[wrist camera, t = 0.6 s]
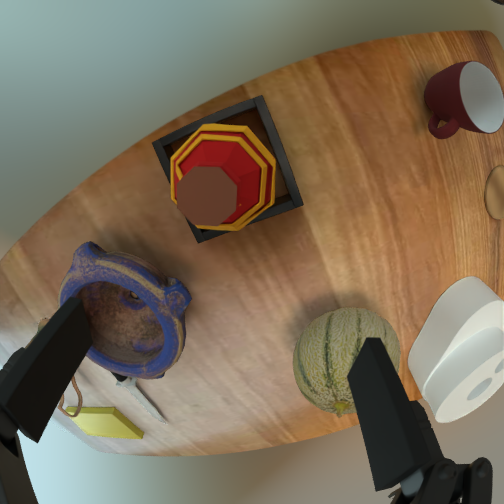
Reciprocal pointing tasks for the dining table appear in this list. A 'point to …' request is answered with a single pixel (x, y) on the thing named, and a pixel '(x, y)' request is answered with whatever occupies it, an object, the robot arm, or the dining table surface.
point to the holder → (293, 198)
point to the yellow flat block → (105, 422)
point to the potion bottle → (222, 177)
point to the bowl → (128, 311)
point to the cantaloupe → (337, 355)
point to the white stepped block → (460, 350)
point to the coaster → (495, 193)
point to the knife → (137, 394)
